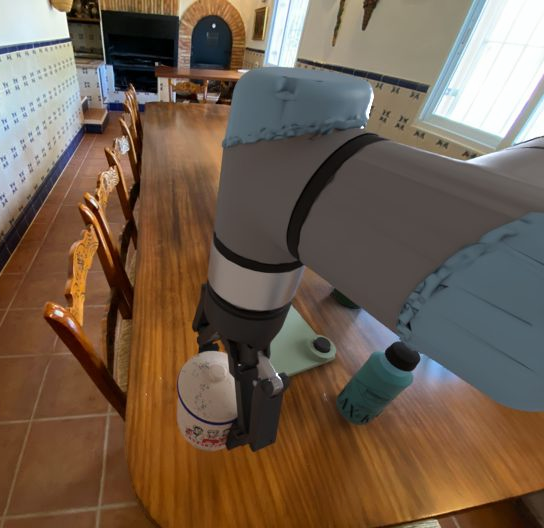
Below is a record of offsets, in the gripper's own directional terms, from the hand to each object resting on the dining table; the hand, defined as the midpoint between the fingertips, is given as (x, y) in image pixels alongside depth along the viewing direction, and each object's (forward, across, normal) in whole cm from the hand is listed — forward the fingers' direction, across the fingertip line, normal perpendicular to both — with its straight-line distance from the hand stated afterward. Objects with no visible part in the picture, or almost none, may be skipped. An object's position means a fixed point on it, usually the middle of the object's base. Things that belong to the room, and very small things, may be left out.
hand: (219, 405), depth 40 cm
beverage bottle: (+16, -4, -28) cm, 32 cm away
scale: (+15, +16, -25) cm, 34 cm away
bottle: (+15, +20, -51) cm, 57 cm away
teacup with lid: (+2, 0, 0) cm, 2 cm away
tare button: (+13, +9, -30) cm, 34 cm away
